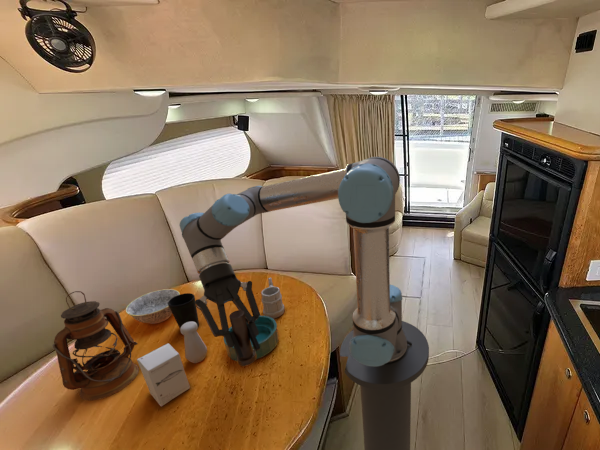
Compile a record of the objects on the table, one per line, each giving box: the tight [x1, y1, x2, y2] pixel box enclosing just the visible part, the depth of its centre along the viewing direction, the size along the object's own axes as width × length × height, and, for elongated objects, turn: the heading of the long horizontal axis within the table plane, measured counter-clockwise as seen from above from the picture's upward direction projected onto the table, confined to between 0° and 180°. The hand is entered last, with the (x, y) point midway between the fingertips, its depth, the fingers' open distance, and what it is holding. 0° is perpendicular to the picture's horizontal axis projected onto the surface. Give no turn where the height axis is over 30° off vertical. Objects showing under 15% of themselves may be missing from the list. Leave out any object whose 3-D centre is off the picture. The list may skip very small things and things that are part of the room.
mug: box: [260, 277, 285, 319], centre depth 118 cm, size 8×12×12 cm, turn 21°
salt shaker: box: [179, 321, 208, 364], centre depth 95 cm, size 6×6×13 cm
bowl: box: [125, 288, 181, 325], centre depth 115 cm, size 16×16×8 cm
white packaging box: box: [136, 343, 191, 408], centre depth 84 cm, size 7×7×13 cm
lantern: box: [52, 290, 140, 401], centre depth 84 cm, size 17×13×30 cm
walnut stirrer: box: [228, 309, 257, 367], centre depth 77 cm, size 4×4×14 cm
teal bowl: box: [223, 315, 280, 362], centre depth 102 cm, size 16×16×6 cm
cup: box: [168, 292, 200, 329], centre depth 109 cm, size 8×8×12 cm
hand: (249, 353), depth 75 cm, fingers closed on walnut stirrer, 3 cm apart
